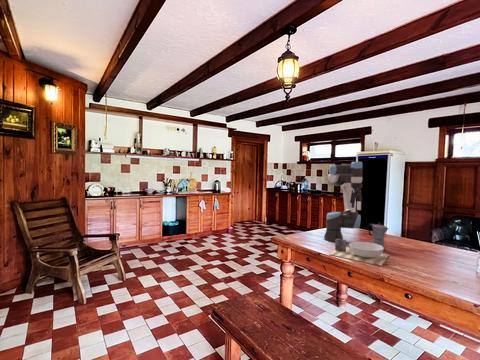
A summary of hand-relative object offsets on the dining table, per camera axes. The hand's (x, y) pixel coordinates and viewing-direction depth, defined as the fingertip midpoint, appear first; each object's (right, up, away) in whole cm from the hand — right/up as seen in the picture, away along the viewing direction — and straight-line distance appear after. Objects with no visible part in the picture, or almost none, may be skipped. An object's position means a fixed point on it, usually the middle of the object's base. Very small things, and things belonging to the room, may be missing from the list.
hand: (356, 210), depth 189 cm
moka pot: (+16, -29, +1) cm, 33 cm away
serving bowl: (-1, -29, -17) cm, 33 cm away
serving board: (-4, -29, -14) cm, 32 cm away
